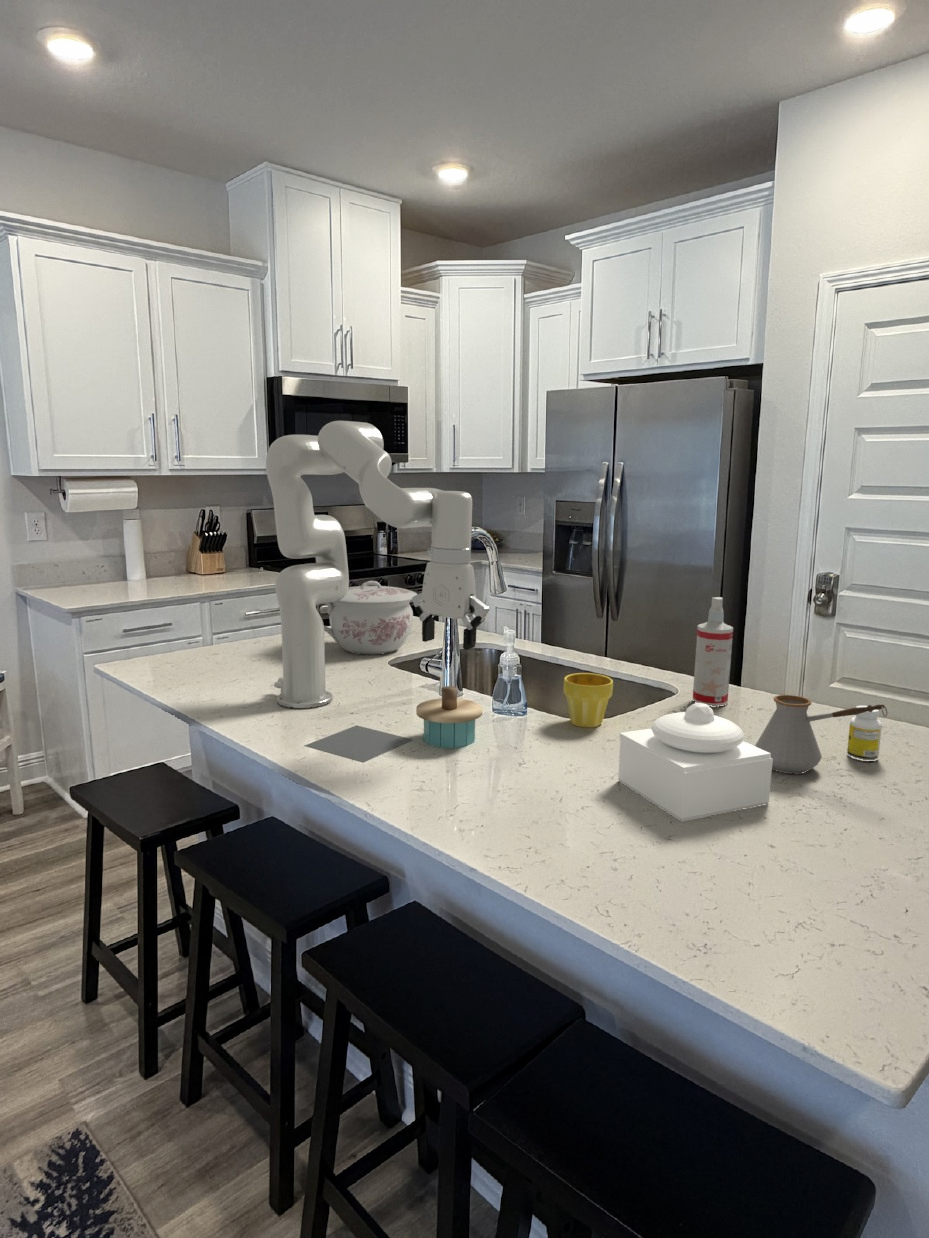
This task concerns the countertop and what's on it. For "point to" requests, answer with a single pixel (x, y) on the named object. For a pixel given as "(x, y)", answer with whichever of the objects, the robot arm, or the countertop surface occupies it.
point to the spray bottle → (713, 658)
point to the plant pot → (587, 697)
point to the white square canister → (695, 765)
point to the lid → (449, 708)
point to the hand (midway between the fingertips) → (448, 644)
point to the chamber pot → (371, 618)
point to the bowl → (449, 734)
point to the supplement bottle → (865, 735)
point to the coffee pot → (797, 733)
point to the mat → (359, 743)
